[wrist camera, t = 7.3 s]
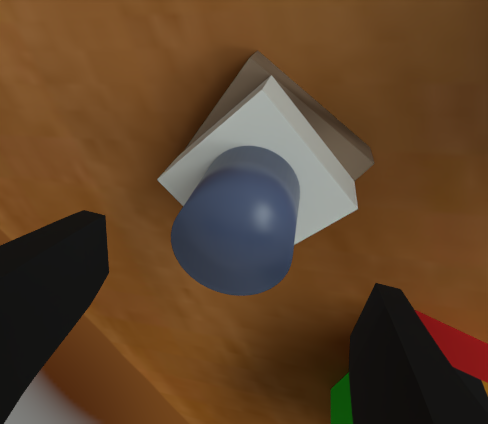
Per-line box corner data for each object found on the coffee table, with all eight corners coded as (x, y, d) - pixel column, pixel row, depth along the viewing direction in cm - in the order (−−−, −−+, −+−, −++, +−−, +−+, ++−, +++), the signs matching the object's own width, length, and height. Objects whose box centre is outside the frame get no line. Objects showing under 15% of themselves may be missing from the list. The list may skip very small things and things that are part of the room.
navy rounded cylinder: (319, 175, 14) (316, 233, 11) (272, 245, 16) (258, 312, 13) (227, 127, 14) (195, 171, 11) (191, 205, 16) (156, 262, 13)
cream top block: (354, 181, 17) (358, 208, 15) (256, 240, 20) (247, 271, 17) (271, 75, 15) (262, 89, 13) (177, 157, 18) (156, 179, 16)
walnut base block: (369, 143, 18) (374, 163, 16) (279, 227, 22) (274, 253, 20) (259, 48, 17) (250, 57, 15) (183, 155, 21) (167, 173, 18)
